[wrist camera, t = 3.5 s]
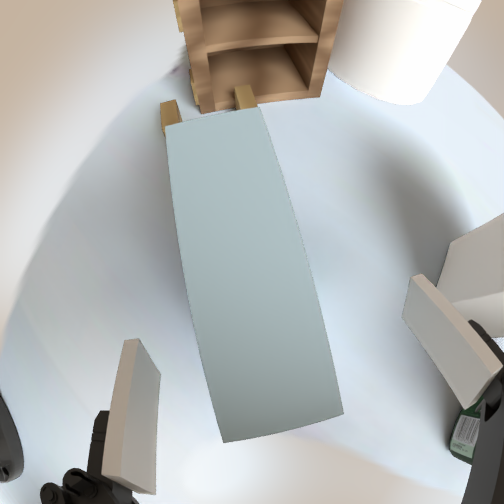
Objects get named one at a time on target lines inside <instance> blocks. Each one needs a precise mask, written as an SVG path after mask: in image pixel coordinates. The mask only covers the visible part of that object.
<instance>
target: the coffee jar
mask: <svg viewBox="0 0 504 504" xmlns="http://www.w3.org/2000/svg"><path fill="white" fill-rule="evenodd" d="M483 399H484V398H483V396H481V397H480V398H479V399H478V401H477V402H476V403H474V404H473V405H472V406H470V407H469V408H467V409H466V410H464V408H463V410H462V411H461V413H460V414H459V416H458V419H457V421H456V423H455V426H454V428H453V431H452V436H451V440H450V452H451V454H452V455H453V456H454V457H456V458H458V459H460V460H462V461H464V462H466V463H468V464H470V465H472V463H473V459H474V454H475V449H476V443H477V437H478V431H479V424H480V416H481V413H479V412H480V410H481V408H480V409H479V410H478V411H477V412H475V410H476V408H477V406H478V405H479V404H480V403H481V401H482V400H483Z"/></svg>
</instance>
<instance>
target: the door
mask: <svg viewBox="0 0 504 504" xmlns="http://www.w3.org/2000/svg"><path fill="white" fill-rule="evenodd" d="M165 133H166V145H167V156H168V166H169V175H170V184H171V192H172V200H173V208H174V215H175V223H176V229H177V236H178V243H179V249H180V255H181V261H182V267H183V273H184V279H185V284H186V290H187V295H188V300H189V305H190V310H191V315H192V320H193V325H194V330H195V334H196V339H197V343H198V348H199V352H200V357H201V361H202V365H203V369H204V373H205V377H206V381H207V385H208V389H209V393H210V397H211V401H212V404H213V408H214V412H215V415H216V419H217V422H218V426H219V429H220V433H221V436H222V440H223V443H227V442H233V441H240V440H246V439H251V438H256V437H261V436H266V435H271V434H275V433H280V432H284V431H288V430H292V429H296V428H300V427H303V426H307V425H311V424H314V423H317V422H321V421H324V420H327V419H330V418H333V417H336V416H339V415H342V414H344V412H343V407H342V402H341V397H340V392H339V387H338V382H337V377H336V373H335V368H334V363H333V359H332V354H331V350H330V346H329V341H328V337H327V333H326V329H325V324H324V320H323V316H322V312H321V308H320V304H319V300H318V296H317V292H316V289H315V285H314V281H313V277H312V273H311V270H310V266H309V262H308V259H307V255H306V252H305V248H304V244H303V241H302V237H301V234H300V230H299V227H298V224H297V220H296V217H295V214H294V210H293V207H292V204H291V200H290V197H289V194H288V191H287V187H286V184H285V181H284V178H283V175H282V172H281V169H280V165H279V162H278V159H277V156H276V153H275V150H274V147H273V144H272V141H271V138H270V135H269V133H268V130H267V127H266V124H265V121H264V118H263V115H262V113H261V110H260V107H255V108H248V109H242V110H237V111H231V112H226V113H221V114H216V115H211V116H206V117H201V118H197V119H193V120H189V121H184V122H180V123H176V124H173V125H169V126H165Z"/></svg>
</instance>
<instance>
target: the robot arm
mask: <svg viewBox="0 0 504 504" xmlns="http://www.w3.org/2000/svg"><path fill="white" fill-rule="evenodd" d="M402 319H403V320H404V321H405V323H406V324H407V325H408V327H409V328H410V330H411V331H412V332H413V334H414V335H415V336H416V338H417V339H418V341H419V342H420V343H421V345H422V346H423V348H424V349H425V350H426V352H427V353H428V355H429V356H430V358H431V359H432V360H433V362H434V363H435V365H436V366H437V368H438V369H439V371H440V372H441V374H442V375H443V377H444V378H445V380H446V381H447V383H448V384H449V386H450V388H451V389H452V391H453V392H454V394H455V395H456V397H457V399H458V400H459V402H460V403H461V405H462V407H463V408H464V410H466V409H467V408H469V407H470V406H472V405H473V404H474V403H476V402H477V401H478V399H479V398H480V397H481V396H483V398H484V399H483V400H482V401H481V403H480V404H479V405H478V406H477V408H476V410H475V412H477V411H478V410H479V409H480V408H481V410H480V412H479V413H481V416H480V424H479V431H478V437H477V443H476V449H475V454H474V459H473V463H472V467H471V472H470V476H469V479H468V483H467V487H466V490H465V493H464V497H463V500H462V503H461V504H504V353H503V351H502V350H501V349H500V348H499V346H498V345H497V344H496V343H495V341H494V340H493V339H491V337H490V336H489V334H487V333H486V331H485V330H484V329H483V327H482V326H481V325H480V324H478V323H477V322H475V321H473V320H472V319H471V320H469V321H466V320H465V318H464V317H463V316H462V315H461V314H460V313H459V312H458V311H457V310H456V308H455V307H454V306H453V305H452V304H451V303H450V302H449V301H448V300H447V299H446V298H445V297H444V296H443V295H442V293H441V292H440V291H439V290H438V289H437V288H436V287H435V286H434V285H433V284H432V283H431V282H430V281H429V280H428V279H427V278H426V277H425V276H424V275H423V274H422V273H421V274H418V275H415V276H412V277H410V282H409V287H408V292H407V296H406V301H405V305H404V310H403V314H402ZM160 376H161V374H160V372H159V371H158V369H157V368H156V366H155V364H154V363H153V361H152V359H151V358H150V356H149V355H148V353H147V351H146V350H145V348H144V346H143V344H142V343H141V341H140V339H131V340H125V341H124V345H123V349H122V353H121V358H120V362H119V366H118V371H117V376H116V381H115V385H114V391H113V396H112V401H111V407H110V411H100V412H99V414H98V415H97V417H96V419H95V421H94V426H93V433H92V438H91V440H92V442H91V444H90V451H89V458H88V466H87V472H85V471H83V470H81V469H79V468H73V469H70V470H68V471H67V472H66V473H65V475H64V477H63V486H61V487H60V486H58V485H56V484H54V483H46V484H44V485H43V487H42V488H41V491H40V498H41V502H42V504H139V503H138V502H137V500H136V499H135V498H134V497H133V496H132V491H134V492H136V493H139V494H151V495H156V440H157V418H158V402H159V388H160ZM23 467H24V460H23V452H22V448H21V444H20V440H19V437H18V434H17V431H16V429H15V426H14V423H13V421H12V419H11V416H10V414H9V412H8V410H7V408H6V406H5V404H4V402H3V400H2V399H1V397H0V483H6V482H10V481H12V480H14V479H16V478H18V477H19V476H20V475H21V474H22V472H23Z"/></svg>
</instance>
